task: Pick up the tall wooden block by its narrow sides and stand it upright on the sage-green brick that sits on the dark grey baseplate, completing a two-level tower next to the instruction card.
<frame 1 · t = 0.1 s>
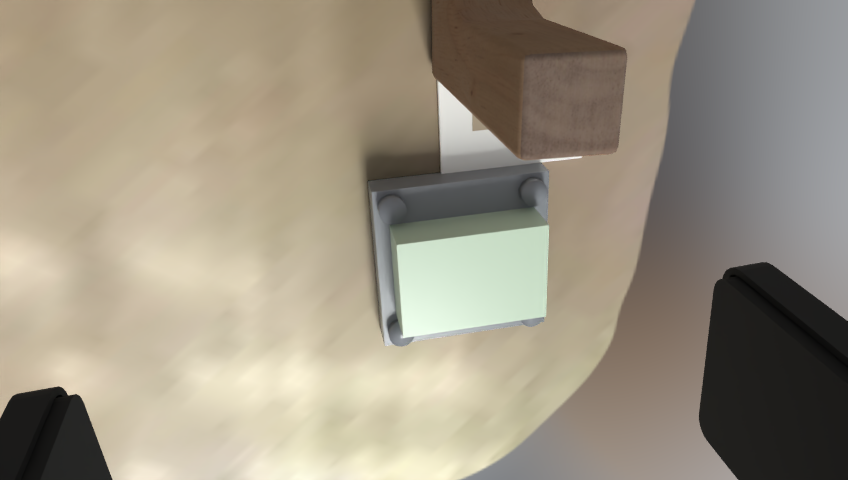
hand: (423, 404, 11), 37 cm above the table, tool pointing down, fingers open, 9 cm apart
baseplate: (457, 248, 52), on the table
instruction card: (511, 107, 48), on the table
wooden block: (465, 1, 44), on the table, touching instruction card
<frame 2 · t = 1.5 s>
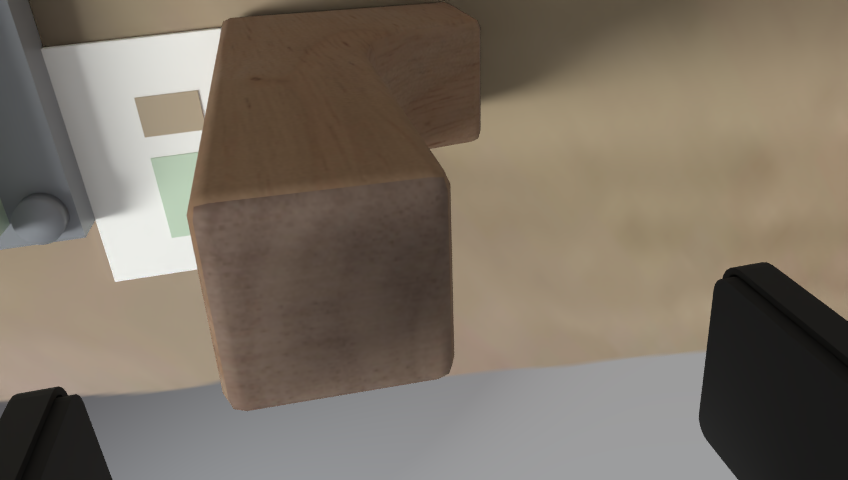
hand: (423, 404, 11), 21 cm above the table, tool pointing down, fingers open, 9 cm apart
instruction card: (183, 158, 30), on the table
wooden block: (343, 65, 29), on the table, touching instruction card
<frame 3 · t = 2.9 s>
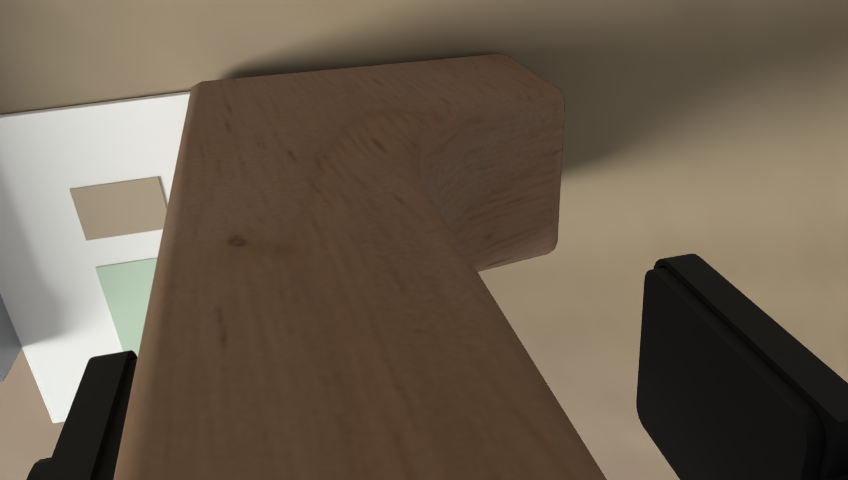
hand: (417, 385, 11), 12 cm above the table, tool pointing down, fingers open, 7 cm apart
instruction card: (142, 264, 22), on the table
wooden block: (359, 138, 21), on the table, touching gripper
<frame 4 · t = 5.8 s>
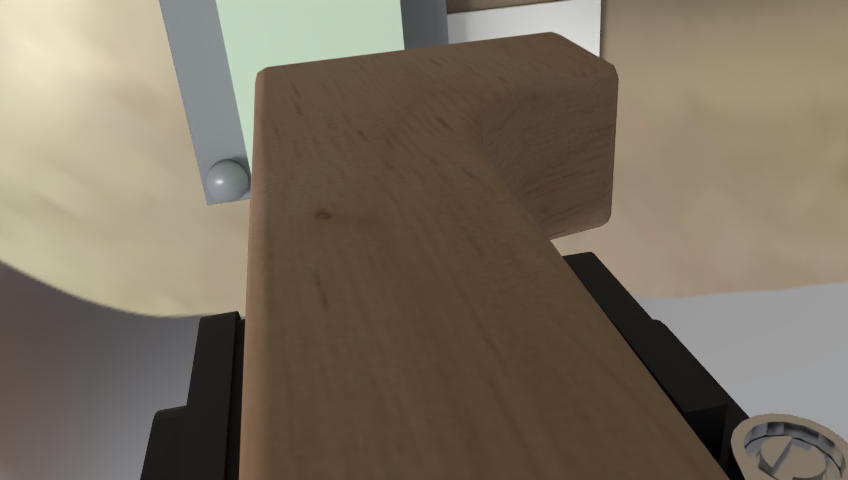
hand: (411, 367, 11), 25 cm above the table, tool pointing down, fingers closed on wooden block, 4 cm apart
baseplate: (314, 51, 34), on the table
instruction card: (521, 107, 37), on the table
wooden block: (415, 118, 22), point 13 cm above the table, touching gripper
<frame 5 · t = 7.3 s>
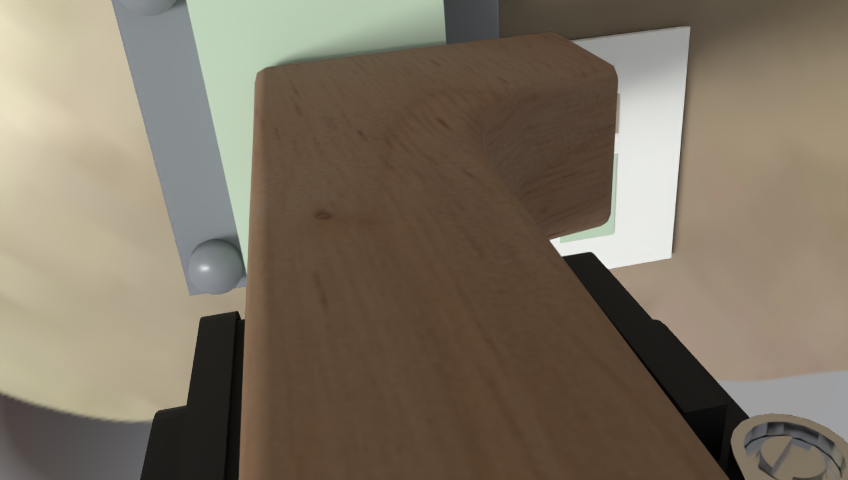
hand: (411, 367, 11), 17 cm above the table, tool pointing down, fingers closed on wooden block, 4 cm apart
baseplate: (326, 99, 26), on the table
instruction card: (585, 162, 29), on the table
wooden block: (415, 118, 22), point 5 cm above the table, touching gripper
when the fingers open (17 cm above the table, at t = 8.0 s): wooden block stays where it is, resting on baseplate.
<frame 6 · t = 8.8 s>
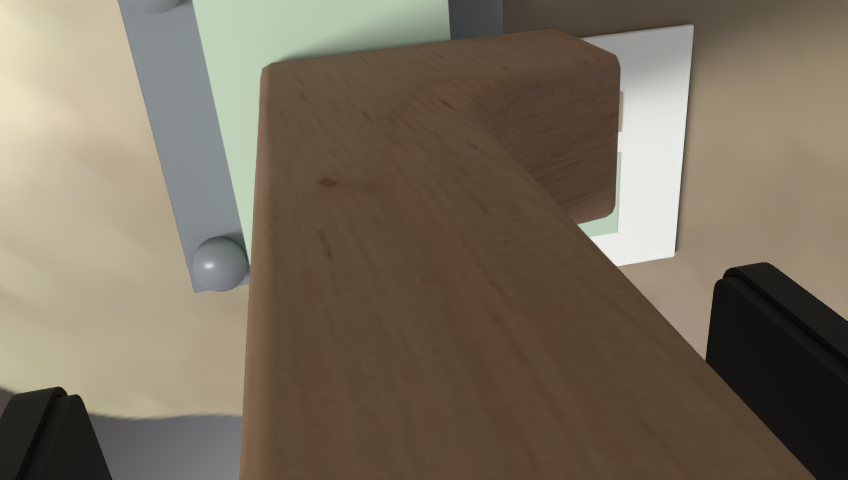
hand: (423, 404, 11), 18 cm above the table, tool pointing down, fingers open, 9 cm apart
baseplate: (330, 97, 26), on the table
instruction card: (588, 161, 29), on the table
wooden block: (419, 115, 22), point 5 cm above the table, touching baseplate
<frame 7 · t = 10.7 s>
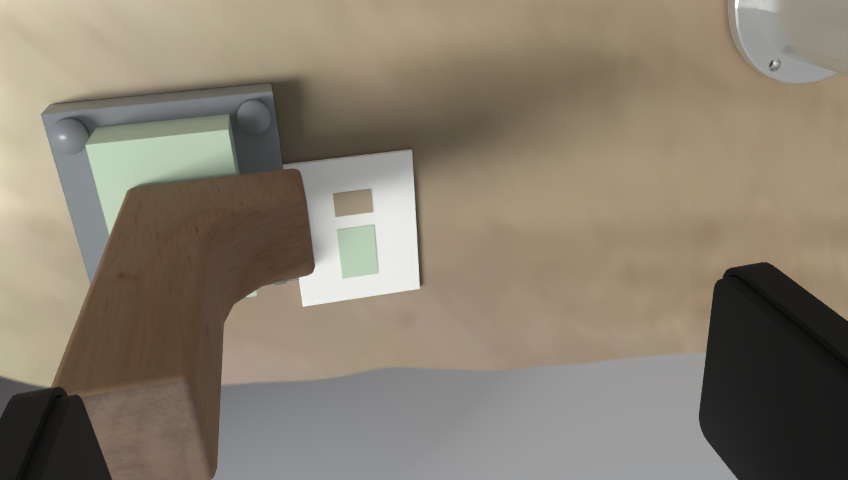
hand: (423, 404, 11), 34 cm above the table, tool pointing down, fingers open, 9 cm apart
baseplate: (184, 191, 43), on the table
instruction card: (355, 229, 47), on the table
wooden block: (221, 212, 39), point 5 cm above the table, touching baseplate
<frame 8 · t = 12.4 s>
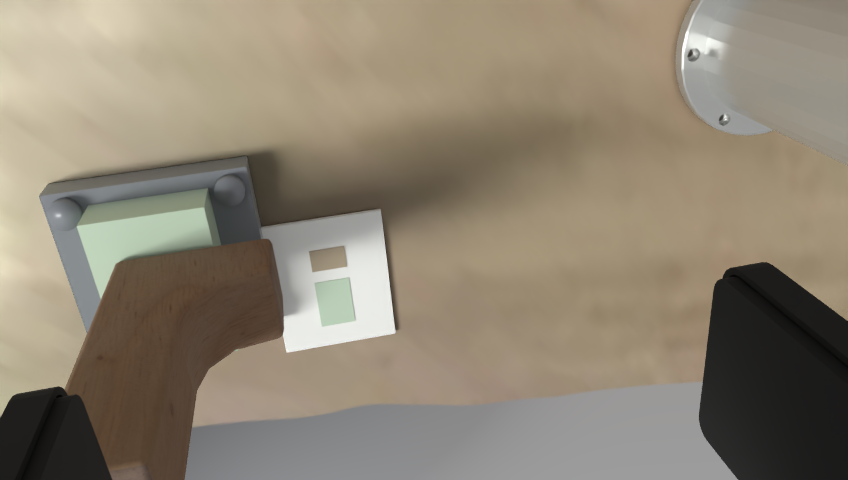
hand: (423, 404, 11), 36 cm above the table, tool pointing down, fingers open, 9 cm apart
baseplate: (172, 254, 47), on the table
instruction card: (331, 281, 51), on the table
wooden block: (202, 278, 43), point 5 cm above the table, touching baseplate
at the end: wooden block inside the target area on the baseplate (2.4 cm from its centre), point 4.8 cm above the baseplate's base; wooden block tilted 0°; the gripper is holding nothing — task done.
